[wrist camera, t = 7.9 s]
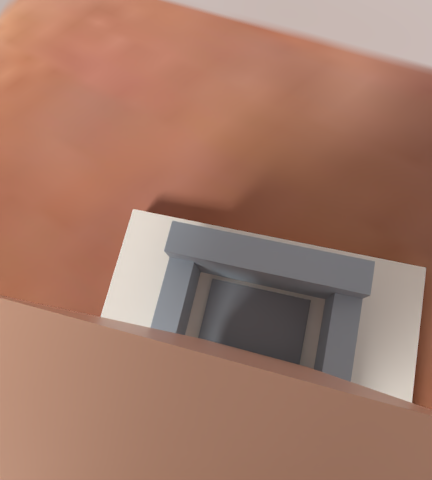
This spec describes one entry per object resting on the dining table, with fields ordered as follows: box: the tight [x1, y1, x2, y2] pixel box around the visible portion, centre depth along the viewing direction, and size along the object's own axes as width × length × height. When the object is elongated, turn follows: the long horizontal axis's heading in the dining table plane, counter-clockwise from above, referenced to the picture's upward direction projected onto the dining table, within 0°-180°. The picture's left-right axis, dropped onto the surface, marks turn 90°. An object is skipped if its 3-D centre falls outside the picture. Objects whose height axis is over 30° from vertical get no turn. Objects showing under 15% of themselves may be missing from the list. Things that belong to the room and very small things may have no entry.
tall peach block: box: [0, 295, 432, 480], centre depth 8 cm, size 5×4×13 cm
